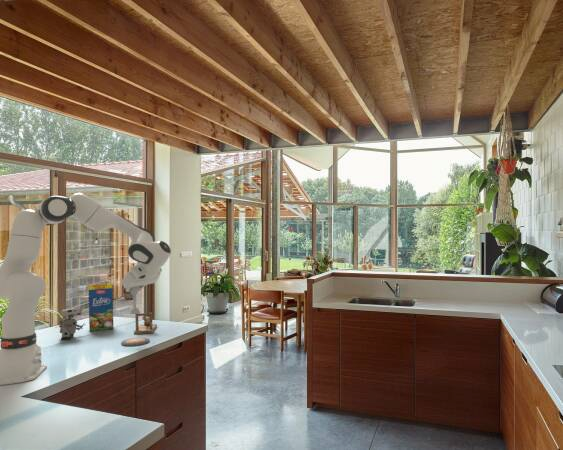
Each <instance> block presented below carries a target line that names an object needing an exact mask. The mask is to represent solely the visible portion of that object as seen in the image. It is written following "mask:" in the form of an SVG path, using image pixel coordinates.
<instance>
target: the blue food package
mask: <svg viewBox="0 0 563 450" xmlns="http://www.w3.org/2000/svg"><path fill="white" fill-rule="evenodd" d="M113 294H114V293H113V283H112V282H111V283H99V284H97V283H96V284H89V285H88V314H89V315H88V320H89V323H88V324H89V326H88V329H89V332H96V331H104V330H105V331H107V330H111V329H114V295H113Z"/></svg>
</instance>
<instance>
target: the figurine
mask: <svg viewBox="0 0 563 450" xmlns="http://www.w3.org/2000/svg"><path fill="white" fill-rule="evenodd" d="M82 311H83V310H82V309H81V307H79V306H78V307H73V308H66V309H62V310H60V311H59V316H60V317H62V316H63V318H62V319H61V320H60V321H59V323H58V324H59V325H58V327H59V333H60V334H61V339H60V340H61V341H68V340H71V339H72V337H73V336H75V334H76V331H80V330H83V329H84V328H83V327H84V326H85V323H83V324H82V325H80V324H78V319H75V318H74V317H76V316H81V315H82Z"/></svg>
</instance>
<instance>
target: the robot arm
mask: <svg viewBox="0 0 563 450" xmlns="http://www.w3.org/2000/svg"><path fill="white" fill-rule="evenodd" d="M68 218H73V219H75V220H76V221H79V222H80V223H81V224H83V225H84V226H86V227H87V228H88V229H90V230H92V231H94V232H103V231H106V230H108V229H116V230H118V231H119V232H121V233H122V234H125V236H128V237H129V238H130V240H131V242H130V243H129V247H128V249H127V254H128V256H129V257H130V259H132V260H134V261H135V262H138V264H136V265H132V266H131V267H130V268H129V271H128V272H127V273H126V274H125V275H124V277H123V278H122V280H121V281H120V282H121V285H122V287H123V288H124V289H125V292H127V293H130V291H131V288H132V287H135V286H140V289H139V291H140V290H143V289H144V287H146V286H147V285H153V284H155V283H156V282H157V281H158V280H159V278H160V276H161V273H162V271H163V269H162V267H163V266H164V265H165V264H166V262H167V261H168V259H169V258H170V256H171V253H172V249H171V248H170V245H169V244H168V243H167V242H165V241H163V240H160V241H156V240H155V239H156V238H155V235H154V233H153V232H152V231H151V230H149V229H147V228H144V227H141V226H138V225H137V224H135V223H133V222H132V221H130V220H129V219H127V218H126V217H125V216H123V215H120V214H119V213H117V212H114V211H112V210H110V209H108V208H106V207H105V206H103V205H102V204H100V203H99V202H98V201H96V200H94V199H93V198H91V197H90V196H88V195H86V194H84V193H82V192H77V193H74V194H72V195H71V196H69V197H66V196H63V195H51V196H49V197H47V198H45V199H44V200H42V201H41V202H40V203H39V205H37V207H36V208H35V209H22V210H20V211H18V212H17V213H16V215H15V217H14V219H13V221H12V225H11V229H10V232H9V237H8V238H9V239H8V244H7V249H6V253H5V257H4V259H3V261H2V264H1V266H0V298H1V299H4V300H8V305H7V308H6V310H5V312H4V314H3V315H2V316H1V337H0V386H3V385H11V384H12V385H13V384H19V383H24V382H29V381H32V380H35V379H37V378H38V377H39V375H41V373H43V372H44V371H45V370H46V369H47V368H48V365H47V364H46V363H45V364H43V362H42V361H43V360H42V347H41V346H39V344H37V333H36V311H37V306H38V303H39V301H40V299H41V298H42V296H43V295H44V294H45V292H46V290H47V283H46V279H45V278H44V277H43V276H41V275H39V274H37V273H34V272H31V271H30V270H31V268H32V267H33V264H34V263H35V262H36V261H37V260H38V259H39V257H40V251H41V244H42V237H43V231H44V228H45V227H46V226H53V225H57V224H60V223H63V221H65V220H67V219H68Z"/></svg>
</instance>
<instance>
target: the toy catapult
mask: <svg viewBox="0 0 563 450" xmlns="http://www.w3.org/2000/svg"><path fill="white" fill-rule="evenodd" d="M134 315H135V330H134V331H133V335H148V334H153V332H154V331H155V330H156V328H158V324H157V323H153V312H145V313H144V312H143V313H141V312H140V313H138V314H134ZM139 317H142V320H143V321H144V322H143V324H139Z"/></svg>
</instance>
